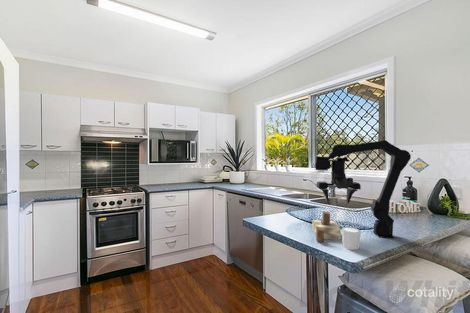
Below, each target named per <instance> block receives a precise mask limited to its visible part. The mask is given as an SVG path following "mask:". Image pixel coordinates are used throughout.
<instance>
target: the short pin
mask: <svg viewBox="0 0 470 313" xmlns="http://www.w3.org/2000/svg"><path fill="white" fill-rule="evenodd" d="M315 240H316V243H324V242H325V239H324V230H323V229H322V228H316V237H315Z"/></svg>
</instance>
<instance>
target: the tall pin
mask: <svg viewBox="0 0 470 313" xmlns="http://www.w3.org/2000/svg"><path fill="white" fill-rule="evenodd" d="M330 221H331V213H330V212H329V211H322V225H330Z"/></svg>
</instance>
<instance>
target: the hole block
mask: <svg viewBox="0 0 470 313" xmlns="http://www.w3.org/2000/svg"><path fill="white" fill-rule="evenodd" d="M311 223H312V224H311V225H312V226H311V230H312V232H313V235H314V237H315V238H316V228H322V229H323V230H324V240H341V235H342V227H341V226H339V224H338V223H337V222H336V220H330V225H322V220H321V219H312V222H311Z"/></svg>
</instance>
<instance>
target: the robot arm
mask: <svg viewBox="0 0 470 313" xmlns="http://www.w3.org/2000/svg"><path fill="white" fill-rule="evenodd" d="M376 150H382V151H383V152H384V153H386V154H387V155H388V156H390V160H389V161H390V162H389V163H390V164H389V170H388V173H387V175H386V179H385V181H384V182H383V186H382V189H381V191H380V193H379V197H377V198H376V199H375V198H373V199H372V203H371V205H369V207H370V211H371V213H372V215H373V216H374V218H376V219H375V220H374V223H373V231H372V232H373V233H374V235H376V236H377V237H379V238H388V239H389V238H391V239H393V238H396V237H395V236H394V234H393V233H394V222H395V220H394V219H393V217H391V216H390V214H389V212H390V200H391V198H392V196H393V193H394V190H395V187H397V186H396V185H397V182H398V180H399V178H400V175H401V172H402V171H403V170H404V169H405V168H406V166H407V165H408V163H409V162H410V161H411V158H412V154H411V153H410V151H408V150H405V149H400V148H399V147H397V145H396V146H395V145H394V144H392V143H391V142H389V141H388V140H385V139H384V140H383V139H382V140H378V141H372V142H371V141H370V142H364V143H356V144H335V145H333V147H332V149H331V153H330V154H328V156H320V155H319V156H318V155H317V156H316V157H315V171H328V170H329V169H331V173H330V174H331V181H330V182H329V183H328V182H327V181H317V182H316V188H317V189H319V190H320V191H322V193H323V196H324V198H325V201H326V203H327V204H329V200H330V199H329V189H328V188H337V189H338V190H341V189H345V190H346V204H347V205H348V204H350V202H351V199H352V196H353V194H354V193H355V192H358V190H360V191H361V188H362V186H361V183H359V182H357V181H354V178H353V177H346V176H347V175H346V168H345V167H346V163H347V162H350V159H349V158H348V157H347V155H350V154H354V153H359V152H360V153H361V152H367V151H368V152H369V151H376ZM343 156H344V157H343ZM335 158H336V159H335Z"/></svg>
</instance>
